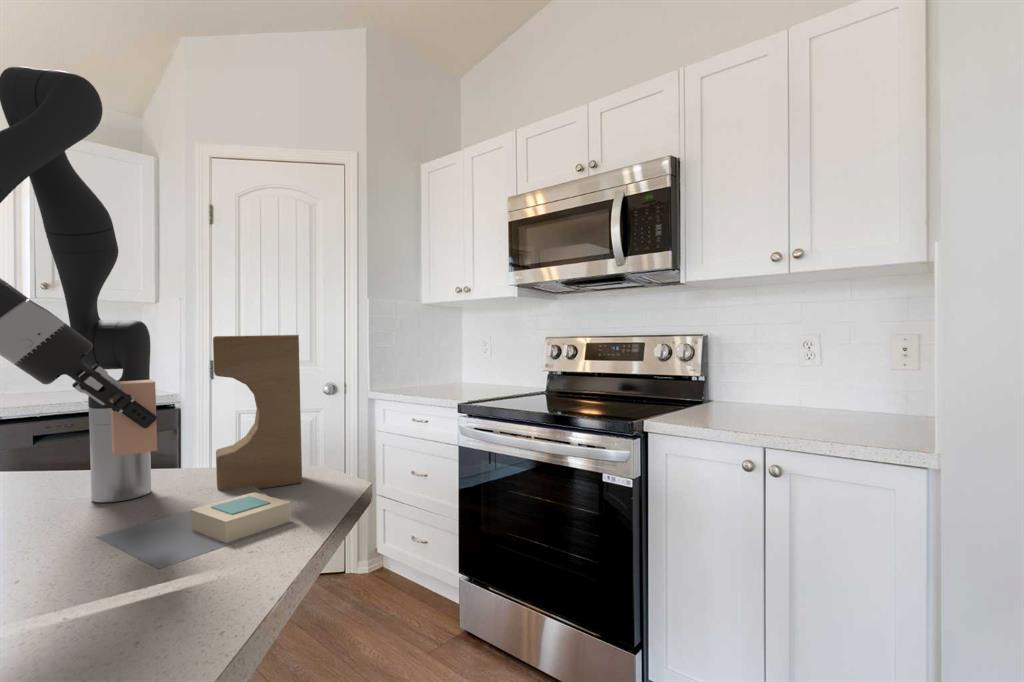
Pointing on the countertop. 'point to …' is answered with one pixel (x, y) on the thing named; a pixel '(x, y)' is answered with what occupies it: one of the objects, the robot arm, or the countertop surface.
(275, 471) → the decorative block
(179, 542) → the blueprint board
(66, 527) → the countertop surface
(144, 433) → the terracotta block
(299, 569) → the countertop surface
